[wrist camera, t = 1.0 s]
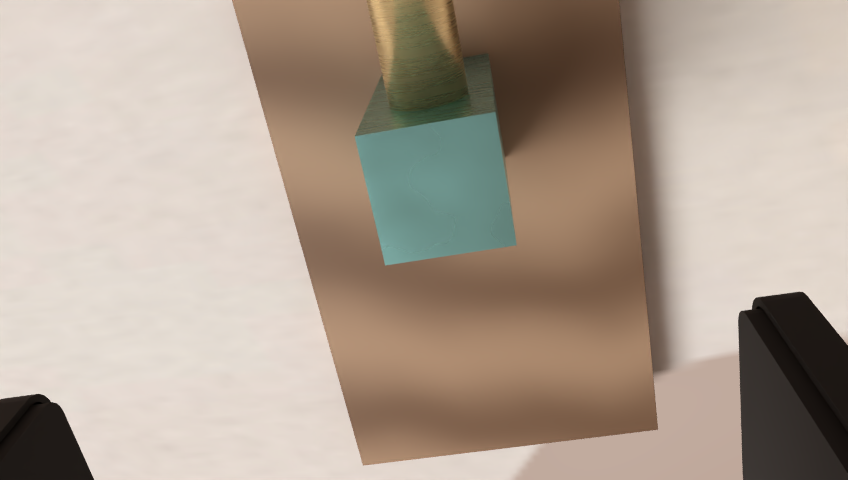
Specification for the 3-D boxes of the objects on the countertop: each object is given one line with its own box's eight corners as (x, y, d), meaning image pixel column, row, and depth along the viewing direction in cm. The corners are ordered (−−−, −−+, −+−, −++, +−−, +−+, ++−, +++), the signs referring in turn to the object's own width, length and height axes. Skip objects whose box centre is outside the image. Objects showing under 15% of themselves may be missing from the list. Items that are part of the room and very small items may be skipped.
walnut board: (117, -458, 22) (97, -477, 20) (558, -583, 20) (563, -608, 19) (366, 446, 34) (363, 465, 33) (651, 411, 32) (658, 429, 31)
